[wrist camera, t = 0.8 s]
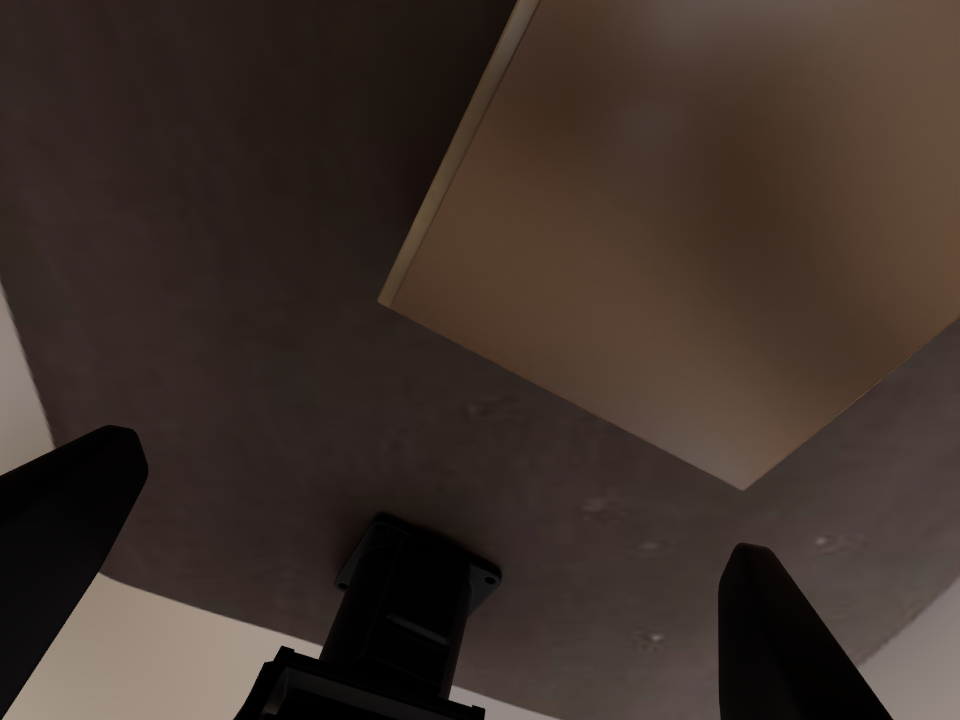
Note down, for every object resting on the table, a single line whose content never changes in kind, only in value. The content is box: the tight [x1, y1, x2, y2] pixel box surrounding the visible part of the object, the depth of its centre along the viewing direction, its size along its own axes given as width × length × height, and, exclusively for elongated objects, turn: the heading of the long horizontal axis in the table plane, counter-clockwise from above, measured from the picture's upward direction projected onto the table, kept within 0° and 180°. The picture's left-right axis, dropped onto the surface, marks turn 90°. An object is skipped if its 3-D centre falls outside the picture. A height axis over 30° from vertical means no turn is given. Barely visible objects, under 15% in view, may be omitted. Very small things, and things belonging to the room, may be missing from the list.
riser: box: [378, 0, 960, 491], centre depth 16 cm, size 13×12×4 cm
